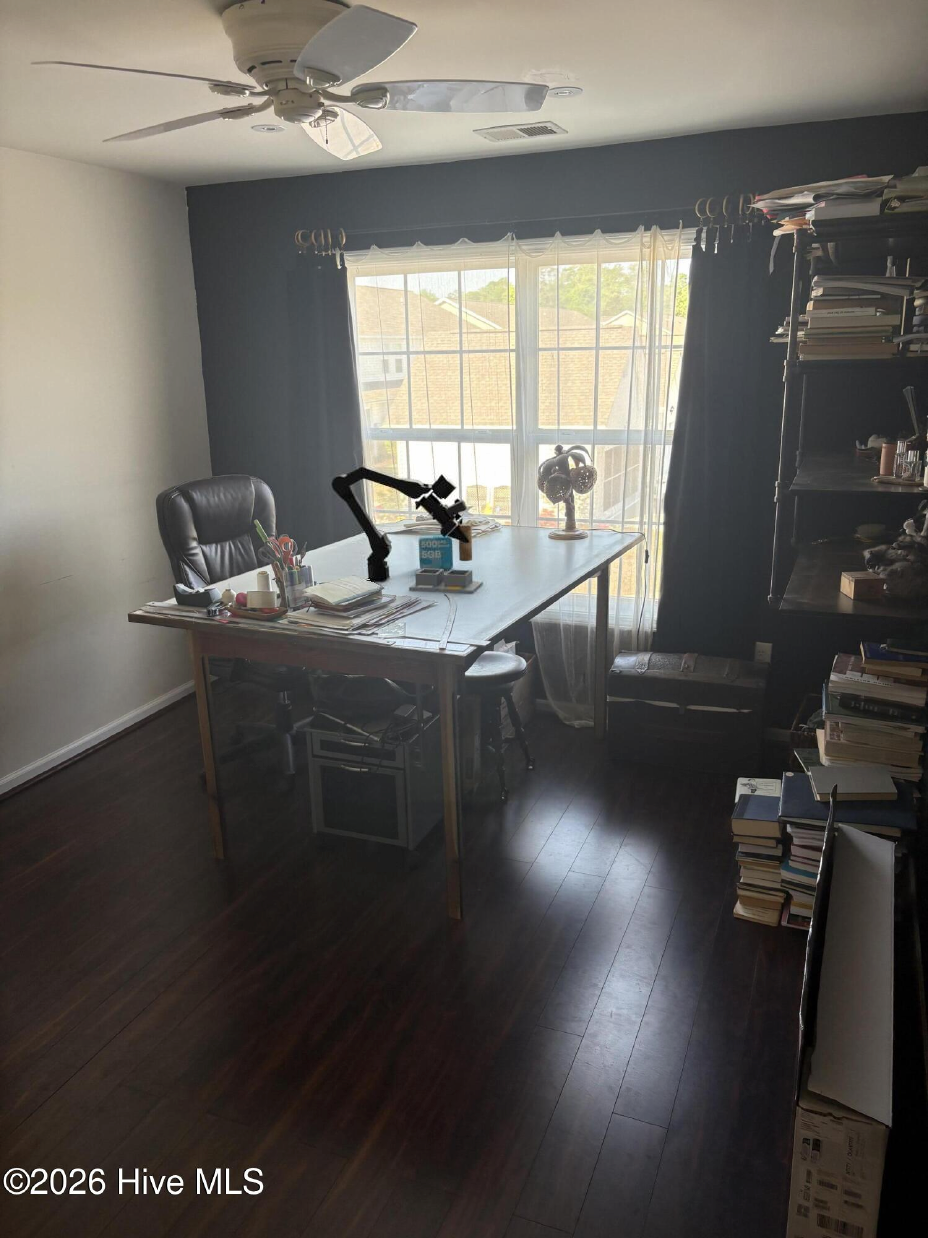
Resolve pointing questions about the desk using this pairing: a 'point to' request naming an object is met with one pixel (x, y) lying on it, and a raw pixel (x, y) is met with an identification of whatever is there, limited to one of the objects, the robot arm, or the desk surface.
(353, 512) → the robot arm
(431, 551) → the data package
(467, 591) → the socket block
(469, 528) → the walnut peg
